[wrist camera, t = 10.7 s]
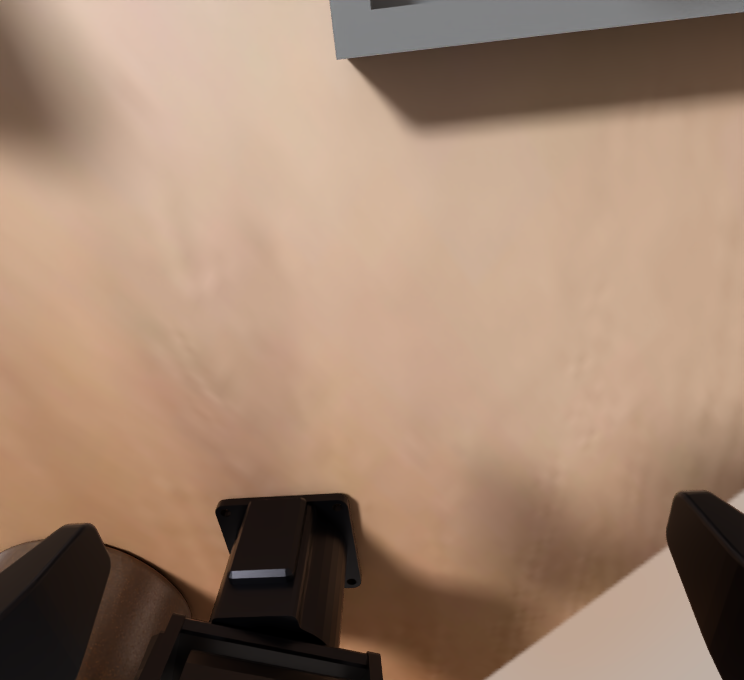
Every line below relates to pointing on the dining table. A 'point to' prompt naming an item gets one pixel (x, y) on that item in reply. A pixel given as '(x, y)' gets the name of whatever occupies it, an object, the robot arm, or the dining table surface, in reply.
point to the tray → (492, 20)
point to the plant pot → (122, 614)
